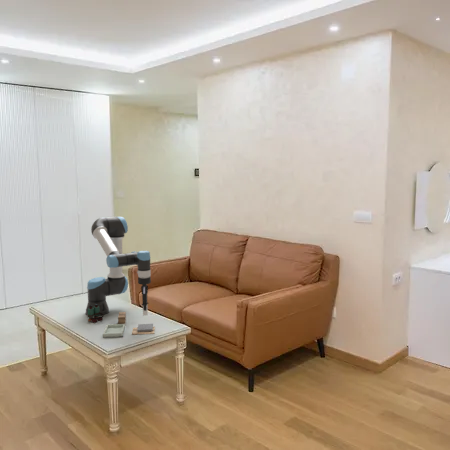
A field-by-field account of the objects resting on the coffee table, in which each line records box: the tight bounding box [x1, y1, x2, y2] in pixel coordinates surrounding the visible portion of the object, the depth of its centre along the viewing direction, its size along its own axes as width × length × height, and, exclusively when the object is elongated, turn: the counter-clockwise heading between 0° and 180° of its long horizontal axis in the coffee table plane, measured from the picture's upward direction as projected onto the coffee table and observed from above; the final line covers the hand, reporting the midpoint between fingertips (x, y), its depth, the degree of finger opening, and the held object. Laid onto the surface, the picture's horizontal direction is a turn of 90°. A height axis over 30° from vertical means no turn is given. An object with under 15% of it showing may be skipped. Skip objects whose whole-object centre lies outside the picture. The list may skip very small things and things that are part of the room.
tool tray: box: [102, 323, 126, 339], centre depth 261 cm, size 16×11×2 cm
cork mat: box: [131, 326, 156, 336], centre depth 263 cm, size 11×13×1 cm
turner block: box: [117, 311, 127, 325], centre depth 275 cm, size 10×4×6 cm, turn 9°
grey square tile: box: [136, 323, 154, 332], centre depth 265 cm, size 1×9×10 cm
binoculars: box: [87, 303, 105, 323], centre depth 281 cm, size 9×11×10 cm
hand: (145, 315), depth 266 cm, fingers closed
